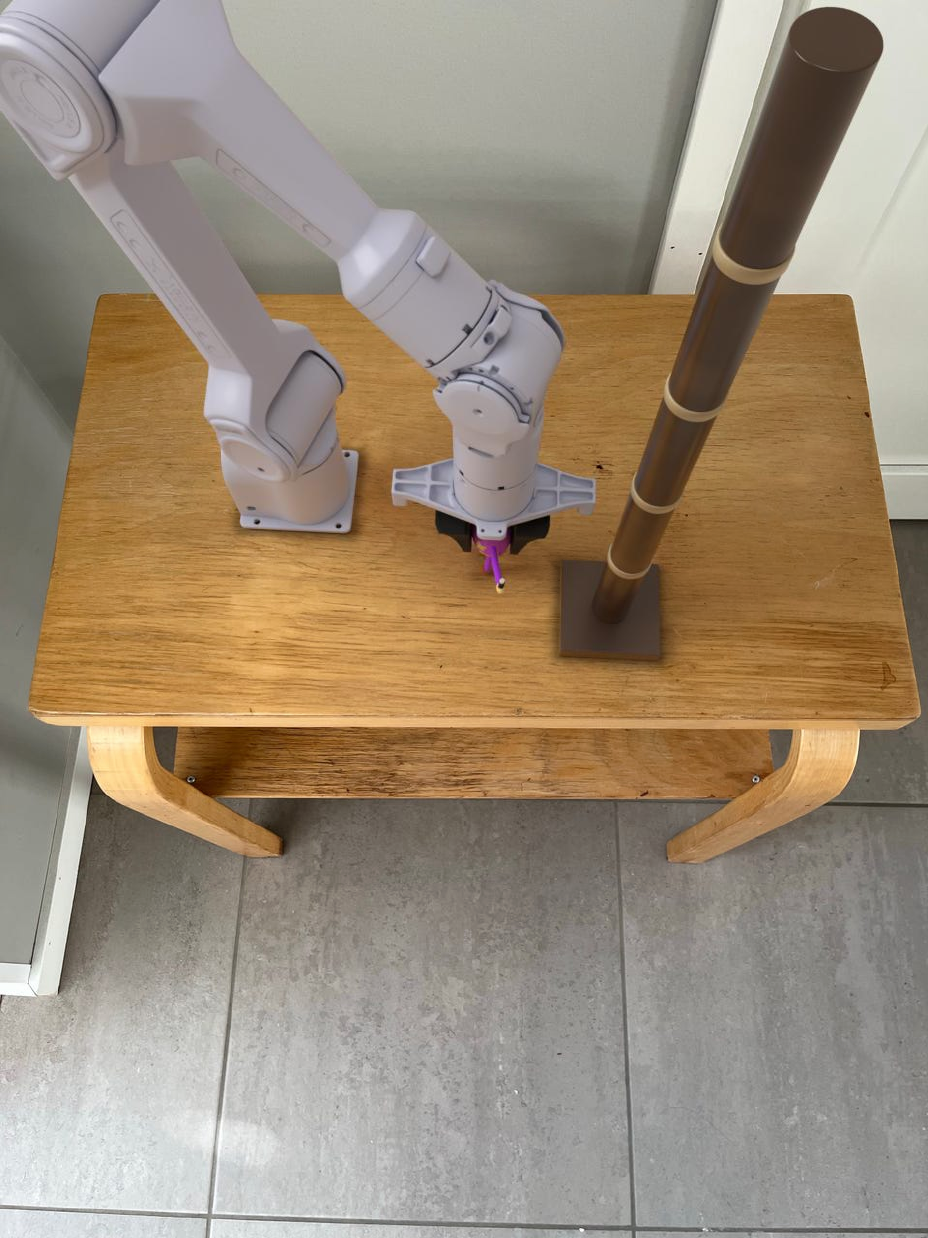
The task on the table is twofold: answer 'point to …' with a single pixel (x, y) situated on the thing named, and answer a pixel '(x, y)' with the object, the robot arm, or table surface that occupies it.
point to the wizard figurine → (492, 555)
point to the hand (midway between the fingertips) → (490, 542)
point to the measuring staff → (724, 321)
